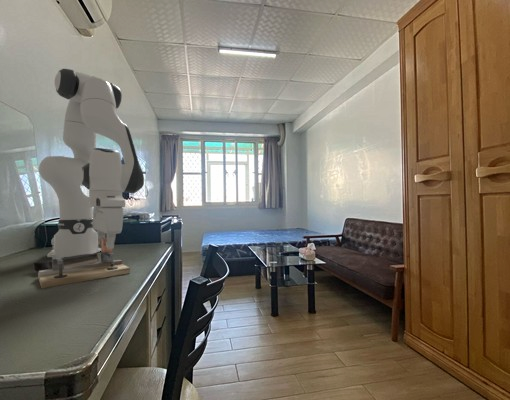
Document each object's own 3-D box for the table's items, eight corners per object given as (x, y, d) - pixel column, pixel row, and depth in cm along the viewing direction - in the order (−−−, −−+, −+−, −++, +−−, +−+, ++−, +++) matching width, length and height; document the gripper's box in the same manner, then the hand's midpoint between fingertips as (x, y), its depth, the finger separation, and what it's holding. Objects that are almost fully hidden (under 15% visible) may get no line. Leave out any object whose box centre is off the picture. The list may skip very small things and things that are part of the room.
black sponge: (47, 275, 77) (48, 263, 77) (31, 273, 80) (31, 260, 80) (101, 264, 91) (101, 253, 92) (85, 262, 95) (85, 251, 95)
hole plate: (38, 278, 73) (38, 258, 73) (117, 266, 86) (117, 249, 86) (41, 288, 64) (41, 265, 64) (129, 273, 77) (129, 253, 77)
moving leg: (101, 263, 81) (100, 238, 81) (109, 262, 83) (109, 237, 83) (107, 267, 75) (107, 240, 76) (117, 266, 77) (116, 239, 77)
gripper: (87, 201, 87) (87, 244, 87) (102, 200, 72) (102, 252, 71) (108, 201, 91) (108, 242, 91) (127, 200, 76) (127, 249, 76)
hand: (106, 246), depth 81 cm, fingers open, 8 cm apart
